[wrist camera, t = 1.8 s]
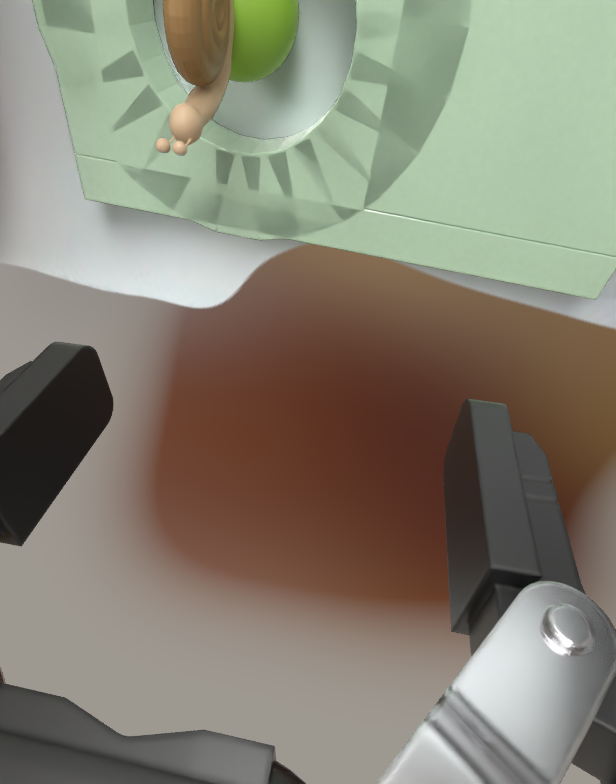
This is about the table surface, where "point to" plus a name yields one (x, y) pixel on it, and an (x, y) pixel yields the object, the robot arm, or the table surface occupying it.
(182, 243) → the table surface
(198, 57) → the snail figurine
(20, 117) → the table surface
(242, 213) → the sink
